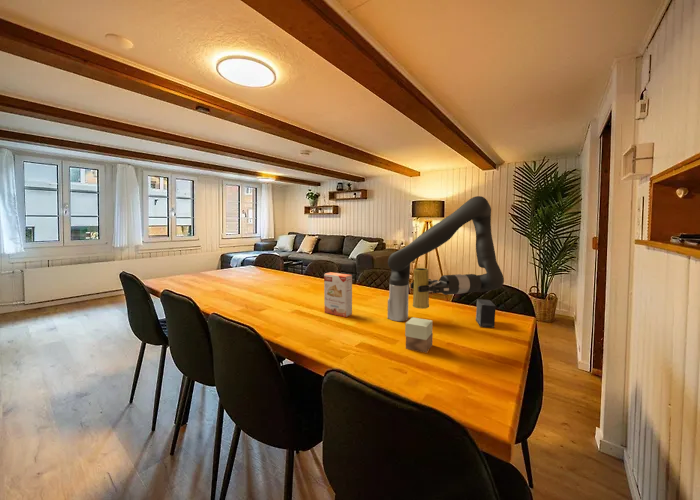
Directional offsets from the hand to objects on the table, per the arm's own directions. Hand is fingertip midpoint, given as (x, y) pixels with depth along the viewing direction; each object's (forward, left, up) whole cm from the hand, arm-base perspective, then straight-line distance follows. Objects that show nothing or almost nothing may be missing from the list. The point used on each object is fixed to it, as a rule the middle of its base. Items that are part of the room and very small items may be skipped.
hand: (414, 287), depth 114 cm
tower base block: (+2, +2, -23) cm, 23 cm away
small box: (+21, +42, -23) cm, 52 cm away
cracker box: (-47, +22, -23) cm, 57 cm away
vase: (+2, +2, -8) cm, 8 cm away
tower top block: (+1, +2, -18) cm, 18 cm away
